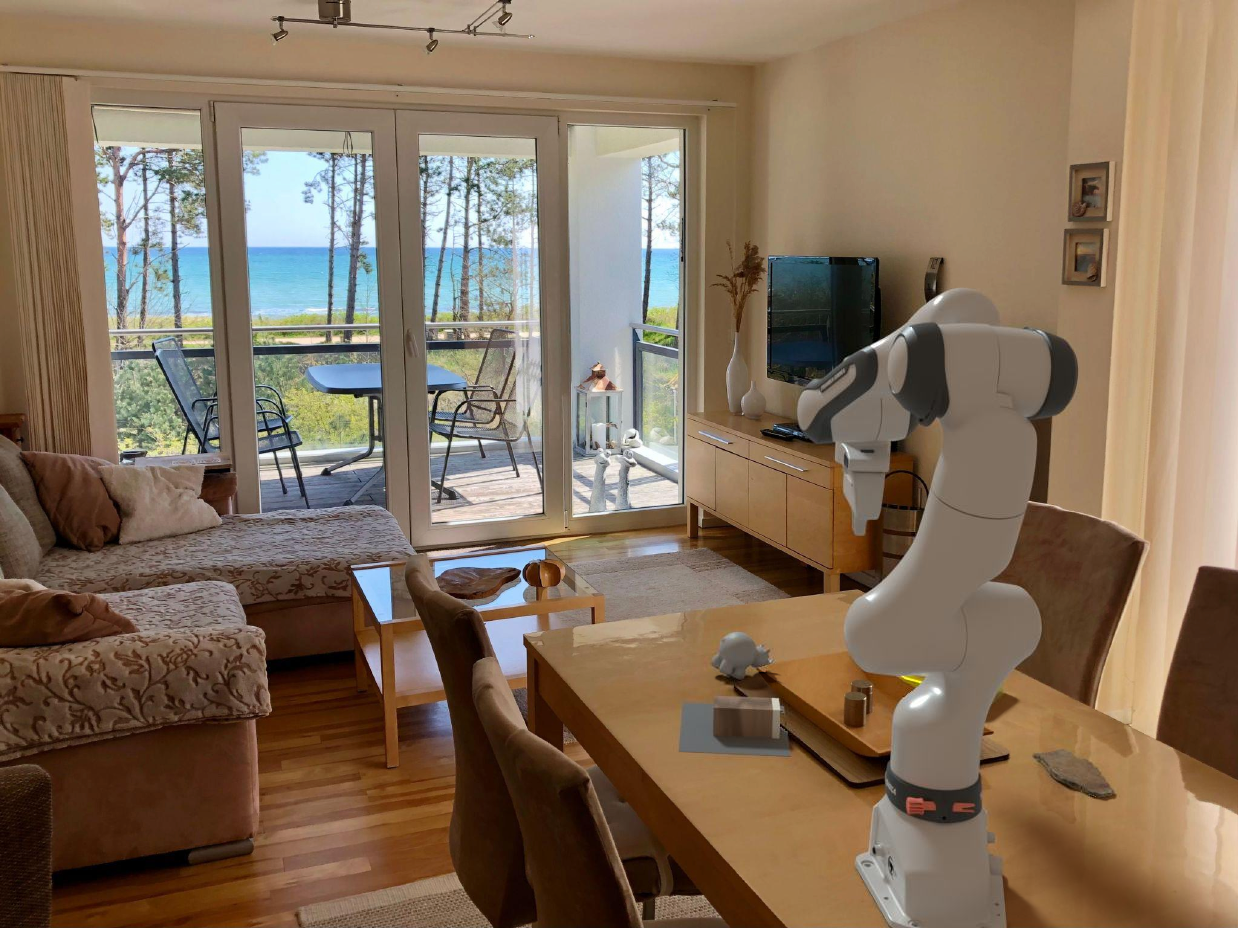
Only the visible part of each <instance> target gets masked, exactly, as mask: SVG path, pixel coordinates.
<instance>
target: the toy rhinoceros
mask: <svg viewBox="0 0 1238 928" xmlns="http://www.w3.org/2000/svg"><path fill="white" fill-rule="evenodd" d="M764 646H765V645H764V643H761V644H760V645H759V646H757V645H756V642H755V641H754V639H753V638H752V637H751V636H750V635H749V634H747V633H745V632H743V631H742V632H741V631H733V632H730V633H728V634H726V635H725V636H724V637H723V638H722V639H721V641H720V642H719V647H718V653H717V654H715V655H714V656H713V657H712V659H711V662H710V665H711V666H712V667H713V668H715V669H716V670H718V671H719V672H720V673H721V674H722V675H726V676H731V677H732V678H734V679H736V680H737V681H738V680H740V681H742V680H743V679H744V678H745V675H746V673H747V671H746V669H747V668H749V667H750V666H751V667H752V668H754V669H757V667H762V666H765V665H769V664H772V665H773V664H774V662H775V658H774V656H773V657H772V659H770V656H769V654H770V651H771V649H770V648H768V649H766V648H764Z"/></svg>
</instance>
